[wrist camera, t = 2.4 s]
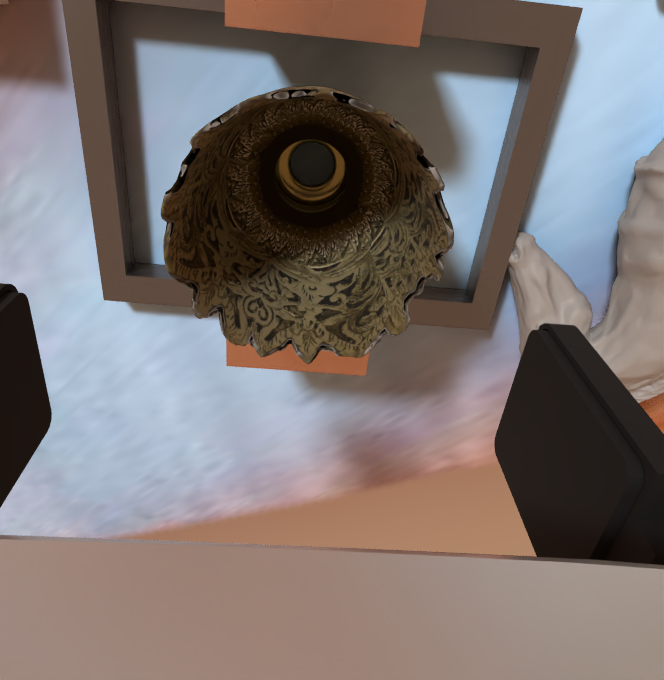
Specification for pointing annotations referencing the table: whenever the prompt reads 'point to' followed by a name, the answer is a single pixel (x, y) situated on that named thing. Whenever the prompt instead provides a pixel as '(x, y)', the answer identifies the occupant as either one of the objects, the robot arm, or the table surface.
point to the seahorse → (626, 295)
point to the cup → (306, 224)
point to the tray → (4, 2)
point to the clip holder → (343, 23)
